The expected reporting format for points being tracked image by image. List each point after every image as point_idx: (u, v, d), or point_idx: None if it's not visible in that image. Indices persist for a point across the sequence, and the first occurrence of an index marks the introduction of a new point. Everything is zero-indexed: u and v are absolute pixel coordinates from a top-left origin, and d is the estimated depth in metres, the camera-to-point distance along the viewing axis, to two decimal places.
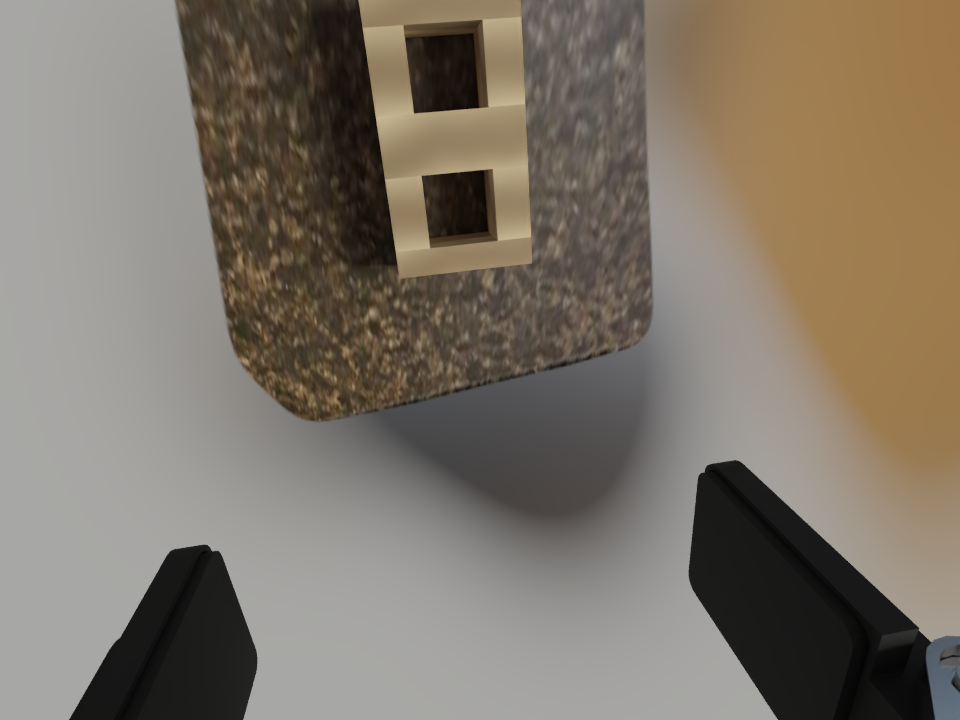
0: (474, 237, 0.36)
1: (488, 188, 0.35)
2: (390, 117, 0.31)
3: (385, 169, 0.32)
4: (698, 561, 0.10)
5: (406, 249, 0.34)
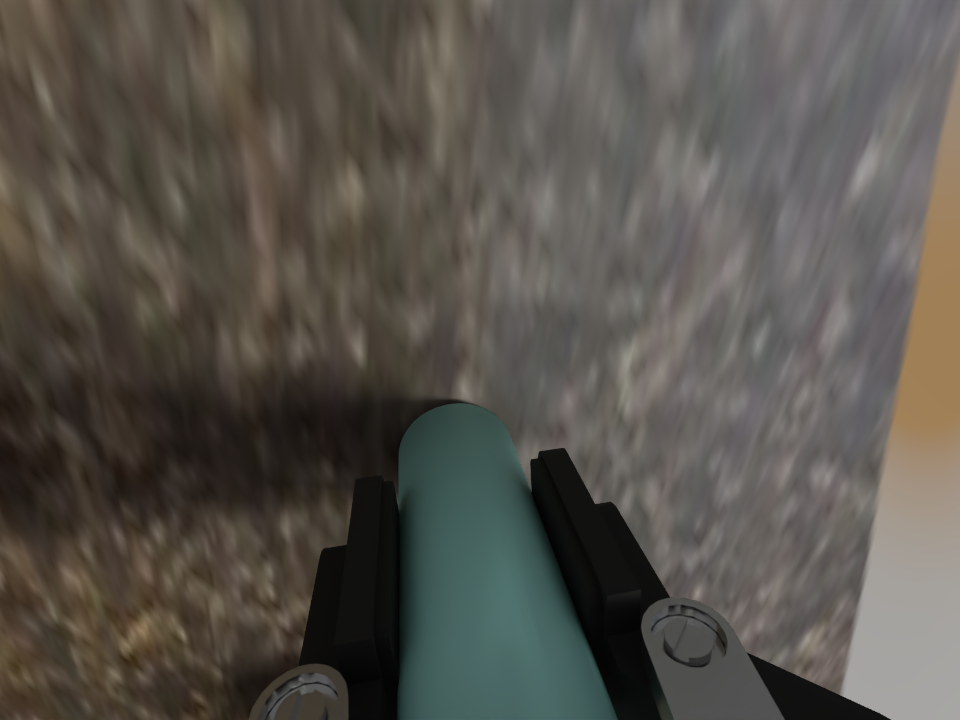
0: None
1: None
2: None
3: None
4: None
5: None
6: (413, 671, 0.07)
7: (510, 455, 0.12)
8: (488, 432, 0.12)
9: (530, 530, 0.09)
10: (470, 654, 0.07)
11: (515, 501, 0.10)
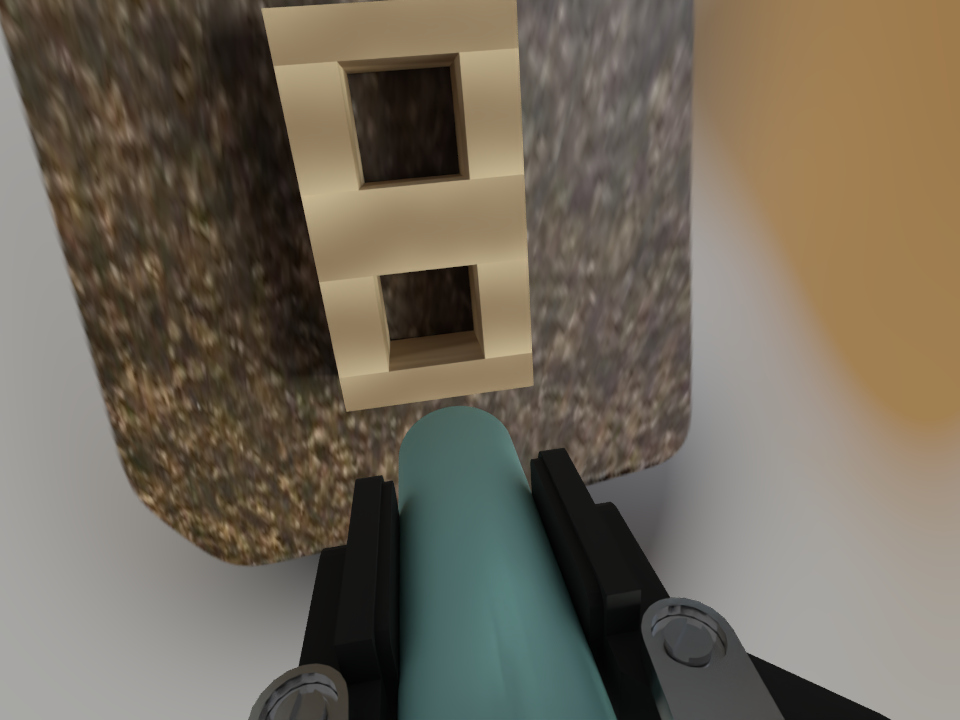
0: (453, 345, 0.26)
1: (472, 280, 0.25)
2: (323, 196, 0.21)
3: (319, 268, 0.22)
4: None
5: (354, 374, 0.24)
6: (415, 678, 0.07)
7: (511, 458, 0.12)
8: (489, 434, 0.12)
9: (531, 535, 0.09)
10: (471, 661, 0.07)
11: (517, 505, 0.10)
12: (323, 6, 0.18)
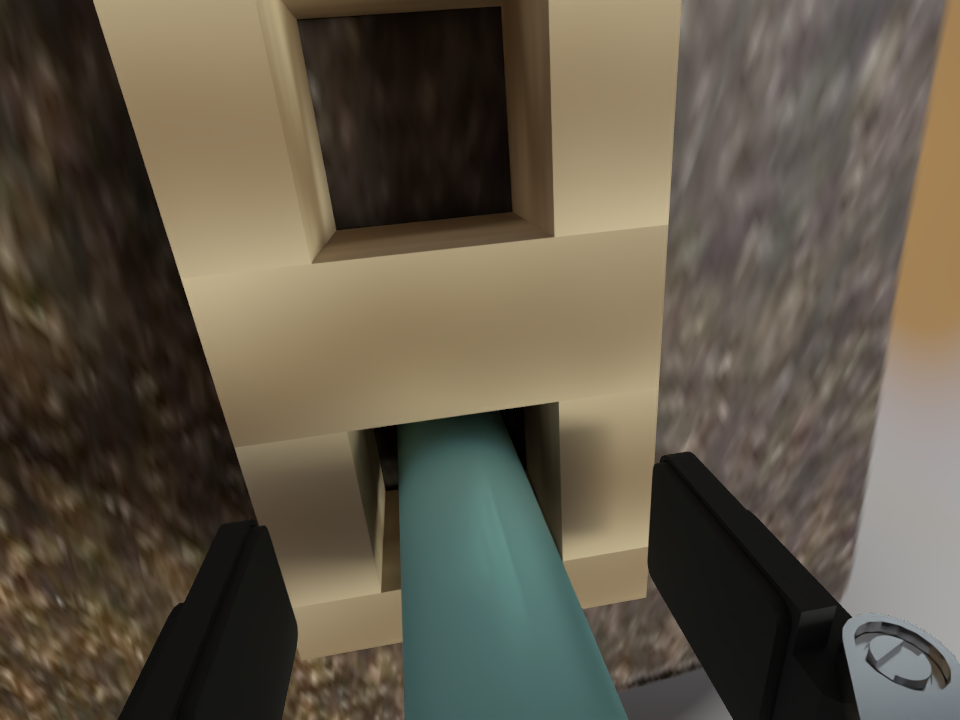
0: None
1: (534, 405, 0.14)
2: (232, 278, 0.09)
3: (232, 422, 0.10)
4: (655, 549, 0.11)
5: (315, 600, 0.12)
6: (414, 563, 0.09)
7: (494, 413, 0.14)
8: None
9: (510, 466, 0.11)
10: (460, 544, 0.09)
11: (498, 445, 0.12)
12: None
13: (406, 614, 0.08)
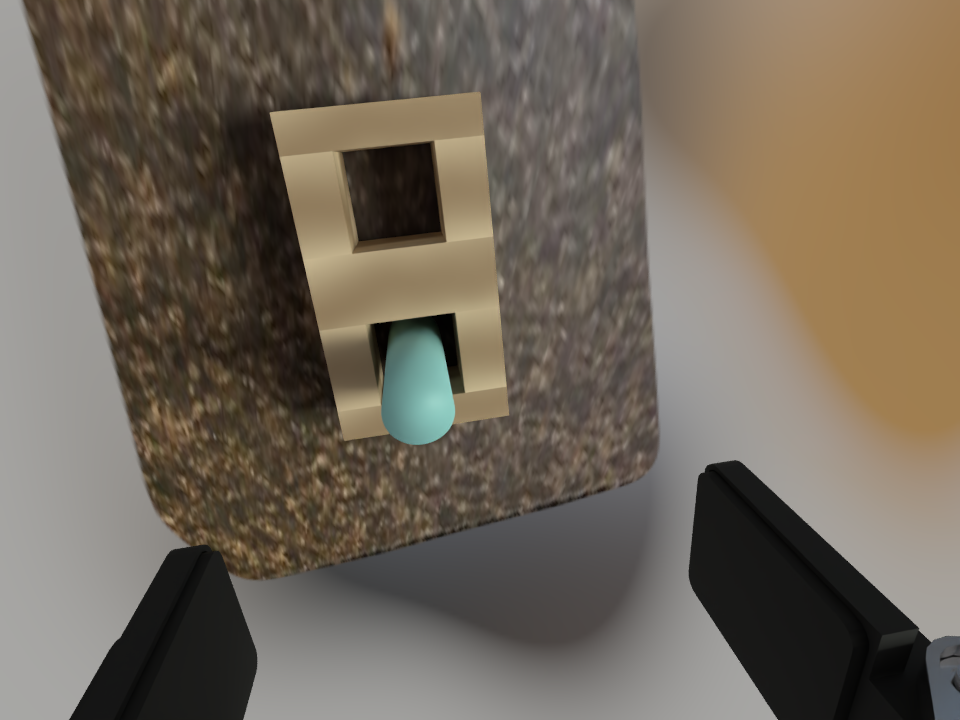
0: None
1: (454, 323, 0.29)
2: (321, 259, 0.24)
3: (319, 319, 0.25)
4: (699, 561, 0.10)
5: (351, 408, 0.27)
6: (389, 364, 0.24)
7: (433, 326, 0.28)
8: (425, 319, 0.29)
9: (432, 340, 0.26)
10: (404, 354, 0.23)
11: (429, 334, 0.27)
12: (320, 108, 0.22)
13: (384, 378, 0.23)
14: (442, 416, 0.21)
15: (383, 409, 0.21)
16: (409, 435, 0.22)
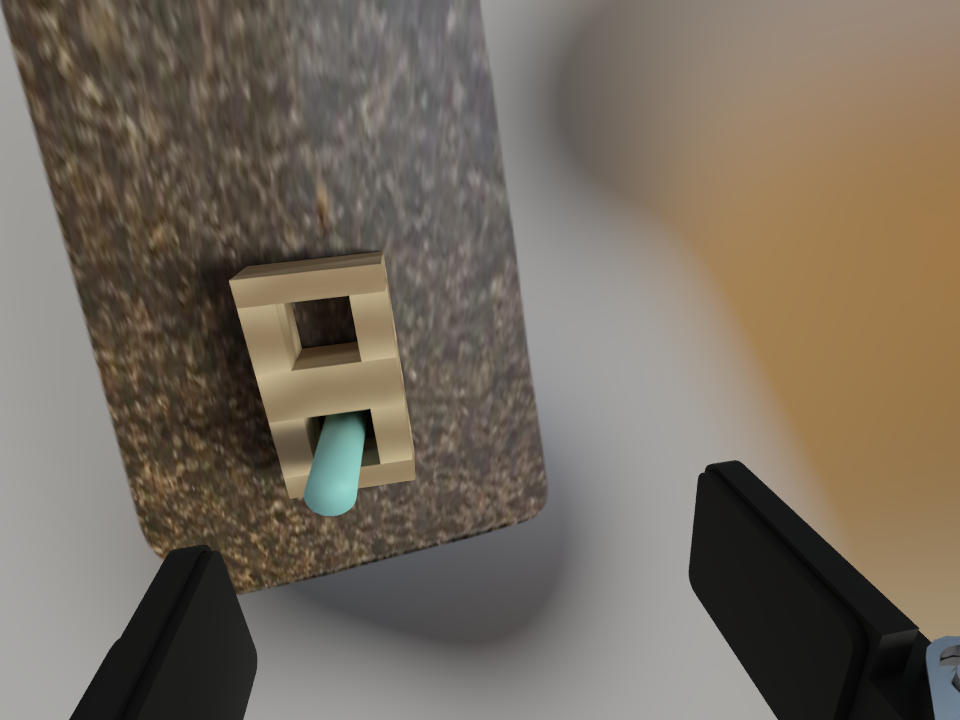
0: (364, 450, 0.39)
1: None
2: (269, 375, 0.33)
3: (268, 415, 0.35)
4: (699, 561, 0.10)
5: (294, 475, 0.37)
6: (316, 453, 0.33)
7: (358, 412, 0.38)
8: None
9: (352, 429, 0.35)
10: (326, 447, 0.33)
11: (351, 423, 0.36)
12: (265, 277, 0.31)
13: None
14: (347, 497, 0.31)
15: (305, 493, 0.30)
16: (324, 510, 0.31)
